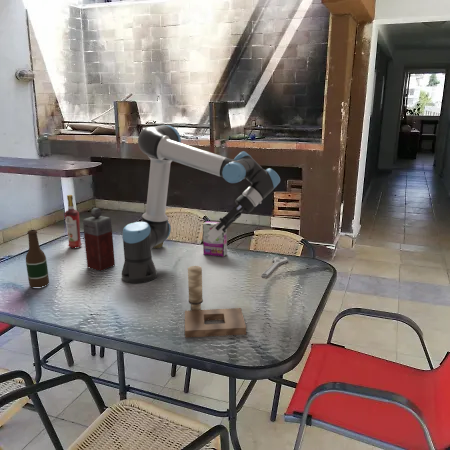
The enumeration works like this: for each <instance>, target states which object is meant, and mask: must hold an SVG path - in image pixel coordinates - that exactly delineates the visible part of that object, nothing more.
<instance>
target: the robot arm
mask: <svg viewBox="0 0 450 450" xmlns="http://www.w3.org/2000/svg"><path fill="white" fill-rule="evenodd" d="M137 138H138V139H137V144H138V148H139V150H140V151H141V152H142V154H144V155H147V157H148V159H150V165H149V166H150V167H149V176H148V186H147V187H148V188H147V198H146V206H145V207H146V208H145V212H144V213H143V214H142V215H141V221H134V222H131V223H128V224H126V225H125V226H124V227H123V229H122V242H123V255H124V256H123V257H124V262H123V263H124V264H123V265H122V269H121V279H122V280H123V282H125V283H130V284H142V283H147V282H151V281H153V280H156V278H157V275H158V273H157V270H158V269H157V268H156V265H155V264H154V263H155V262H154V261H153V256H152V255H153V254H152V249H154V248H153V247H155V246H156V245H158V244H160V243H162V242H163V243H164V242H165V241H166V240H167V239H168V237H169V236H170V234H171V230H172V229H171V224H170V223H169V217H168V215H167V214H166V211H167V210H166V208H167V200H168V189H169V181H170V172H171V163H172V162H174V163H178V164H181V165H184V166H187V167H190V168H193V169H197V170H199V171H202V172H204V173H205V172H206V173H209V174H211V175H215V176H217V177H221V178H223V179H224V180H225V182H228V183H230V184H237V183H239V182H242V180H245V179H246V180H247V181H248V182H249V183H250V184H251V185H249V186H248V187H247V188H246V189H245V190H244V191H243V192H241V193H242V194H240V195H239V196H238V197H237V198H236V199H235V200H234V202H235V204H236V205H235V206H233V208H232V209H231V210H230V211H228V213H226V214H225V215H224V216H223V217H220V218H219V219H218V220H219V221H218V222H219V223H218V224H216V225H215V226H214V227H213V228H212V229H211V230H210V231H209V232H208V234H209V235H210V236H209V237H208V238H207V239H208V240H209V241H210V242H211V243H213V242H214V241H215V240H216V239H217V238H218V237H219V236H220V235H221V234H222V233H223V232H224V233H225V232H226V231H225V230H226V229H227V230H228V228H229V227H230V226H231V225H232V224H233V223H234V222H235V221H237V219H238V218H240V217H241V216H242V212H244V214H247V215H249V214H251V212H252V211H253V210H254V209H255V208H256V207H257V206H258V205H259V204H260V205H261V204H262V201H263V200H265V198H266V197H267V196H268V195H270V194H271V193H272V192H273V191H274V189H276V188H277V186H278V185H279V184H280V183H281V178H280V176H279V174H278V173H277V172H276V171H275V170H274V169H273V168H270V167H269V168H266V169H264V168H263V167H262V166H261V165H260V164H259V163H258V162H257V161H256V160H255V159H254V158H253V157H252V156H251V155H250V154H249V153H247V151H244V150H243V151H240V152H239V153H238V154H237V155H236V156H235V157H234V159H233V158H229V157H226V156H223V155H220V154H218V153H217V154H216V153H213V152H211V151H208V150H204V149H202V148H201V149H200V148H197V147H195V146H191V145H188V144H185V143H182V139H181V135H180V133H179V132H178V130H177V129H176V128H175V127H173V126H171V125H168V124H167V125H166V124H161V125H157V126H156V125H155V126H148V127H147V126H146V128H143V129H142V130H141V131H140V132H139V134H138V137H137Z"/></svg>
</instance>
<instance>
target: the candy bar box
mask: <svg viewBox="0 0 450 450" xmlns="http://www.w3.org/2000/svg"><path fill="white" fill-rule="evenodd" d="M219 222H220V221H218V222H217V221H205V222H203V223H202V242H203V243H202V245H203V246H202V247H203V249H202V250H203V251H202V252H203V255H204V256H212V257H213V256H214V257H221V258H225V257H226V255H228V228H227V229H226V230H225V231H226V232H225V233H224V232H223V233H222V234H221V235H220V236H219V237H218V238H217V239H216V240H215V241H214V242H213V243H211V242H210V241H209V240H208V239H207V238H208V237H209V236H210V235H209V234H208V232H209V231H210V230H211V229H212V228H213V227H214V226H215V225H216V224H218V223H219Z"/></svg>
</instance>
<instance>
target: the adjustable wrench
mask: <svg viewBox="0 0 450 450" xmlns="http://www.w3.org/2000/svg"><path fill="white" fill-rule="evenodd" d="M288 261H289V260H288V258H287V257H285V256H284V257H283V258H281V259H280V258H279V256H275V257H274V258H272V264H271V265H270V266H269V267H267V269H266V270H264V271H263V272H262V273H261V278H263V279H264V278H265V279H266V278H268V277H269V276H270V275H271V274H272V273H273V272H274V271H275V270H276V269H277V268H278V267H279V266H280V265H283V263H284V264H287V263H288ZM286 262H287V263H286Z"/></svg>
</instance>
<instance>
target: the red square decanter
mask: <svg viewBox="0 0 450 450" xmlns="http://www.w3.org/2000/svg"><path fill="white" fill-rule="evenodd" d="M90 214H91V216H90V217H86V218H84V219H82V227H83V237H84V246H85V247H84V248H85V254H86V255H85V257H86V265H87V268H88V267H90V268H93V269H92V270H94V269H96V270H95V271H98V270H100V271H99V272H102V271H101V270H103V271H105V270H107V269H109V268H108V267H110V268H111V266H112V267H114V266H116V263H115V262H116V261H115V251H114V240H113V237H114V236H113V226H112V225H113V224H112V219H111V217H109V216H104V215H102V210H101V208H99V207H93V208H92V209H91V211H90ZM113 265H114V266H113ZM90 268H89V269H90ZM106 268H107V269H106ZM104 269H105V270H104Z"/></svg>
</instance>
